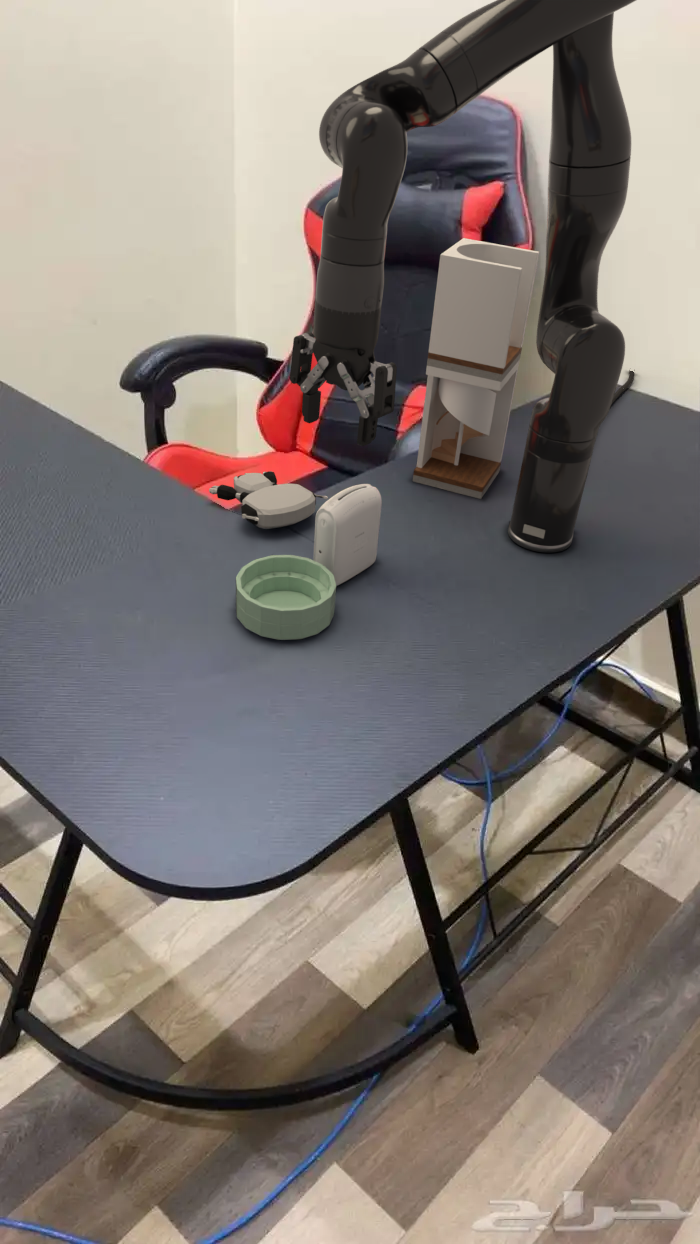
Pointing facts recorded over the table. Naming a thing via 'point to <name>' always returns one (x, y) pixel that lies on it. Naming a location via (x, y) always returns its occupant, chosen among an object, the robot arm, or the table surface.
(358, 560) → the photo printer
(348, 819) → the table surface
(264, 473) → the robot toy
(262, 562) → the bowl
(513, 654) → the table surface
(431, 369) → the white tower
